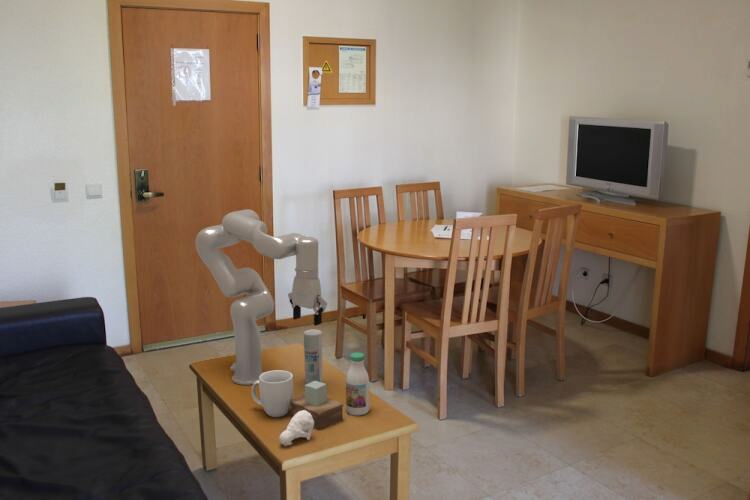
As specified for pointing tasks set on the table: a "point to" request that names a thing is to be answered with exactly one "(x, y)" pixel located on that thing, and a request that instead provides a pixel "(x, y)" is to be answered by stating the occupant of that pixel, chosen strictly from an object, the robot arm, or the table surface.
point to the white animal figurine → (298, 427)
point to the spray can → (313, 355)
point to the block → (315, 393)
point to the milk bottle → (357, 386)
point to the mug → (274, 392)
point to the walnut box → (319, 411)
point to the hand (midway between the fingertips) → (307, 321)
